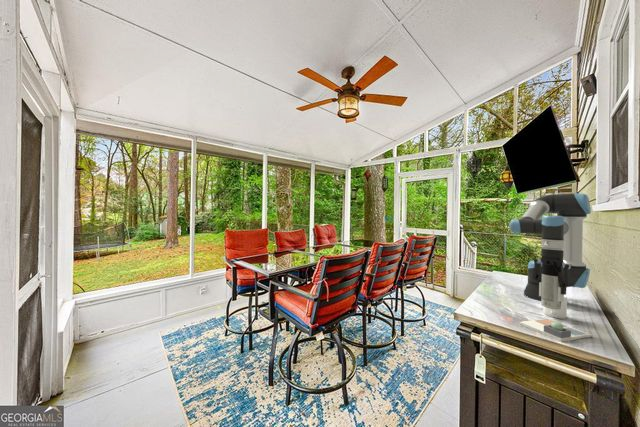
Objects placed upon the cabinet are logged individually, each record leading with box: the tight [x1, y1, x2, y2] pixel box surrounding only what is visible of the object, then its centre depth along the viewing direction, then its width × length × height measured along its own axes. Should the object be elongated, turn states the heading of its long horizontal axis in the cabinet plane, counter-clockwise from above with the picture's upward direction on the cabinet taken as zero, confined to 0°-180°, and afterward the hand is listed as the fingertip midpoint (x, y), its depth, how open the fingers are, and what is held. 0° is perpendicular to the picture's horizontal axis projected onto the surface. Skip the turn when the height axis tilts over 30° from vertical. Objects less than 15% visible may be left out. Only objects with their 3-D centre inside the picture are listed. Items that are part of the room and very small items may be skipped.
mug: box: [542, 295, 568, 320], centre depth 124 cm, size 9×12×11 cm
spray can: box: [540, 263, 561, 309], centre depth 112 cm, size 7×7×20 cm
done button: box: [551, 321, 564, 331], centre depth 102 cm, size 4×4×3 cm
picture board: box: [518, 318, 592, 342], centre depth 108 cm, size 18×16×4 cm
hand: (551, 298), depth 112 cm, fingers closed on spray can, 7 cm apart
